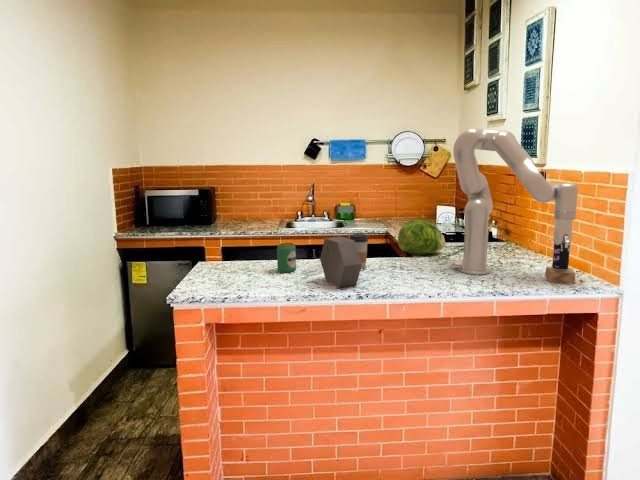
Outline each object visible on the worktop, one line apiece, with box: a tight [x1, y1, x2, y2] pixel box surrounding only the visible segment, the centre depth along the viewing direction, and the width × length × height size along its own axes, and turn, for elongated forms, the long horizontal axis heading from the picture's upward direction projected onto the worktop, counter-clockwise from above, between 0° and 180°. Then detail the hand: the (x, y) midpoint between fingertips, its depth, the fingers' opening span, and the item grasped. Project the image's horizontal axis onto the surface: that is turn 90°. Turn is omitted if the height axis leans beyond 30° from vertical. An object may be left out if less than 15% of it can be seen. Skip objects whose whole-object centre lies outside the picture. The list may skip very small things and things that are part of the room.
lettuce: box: [397, 219, 446, 256], centre depth 245 cm, size 18×23×19 cm
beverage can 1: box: [276, 242, 297, 274], centre depth 210 cm, size 8×8×12 cm
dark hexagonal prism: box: [319, 236, 362, 289], centre depth 190 cm, size 17×8×21 cm
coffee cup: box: [348, 233, 369, 270], centre depth 213 cm, size 8×8×15 cm
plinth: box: [544, 266, 576, 285], centre depth 193 cm, size 9×9×4 cm
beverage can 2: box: [551, 242, 571, 271], centre depth 192 cm, size 6×6×12 cm
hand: (561, 258), depth 192 cm, fingers open, 9 cm apart
